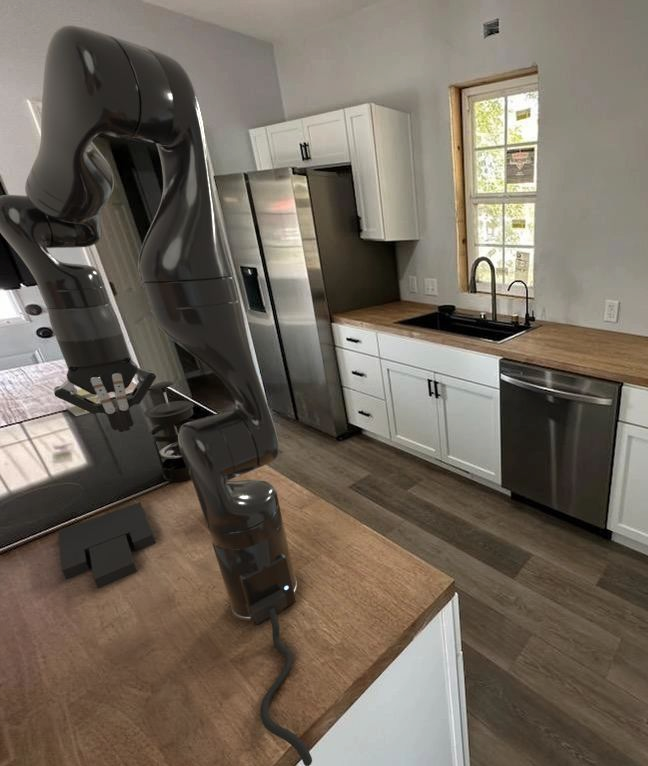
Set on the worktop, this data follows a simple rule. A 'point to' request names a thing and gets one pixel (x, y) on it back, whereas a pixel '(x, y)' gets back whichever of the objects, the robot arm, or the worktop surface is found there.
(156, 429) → the french press
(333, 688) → the worktop surface
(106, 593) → the worktop surface
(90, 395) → the stacked layers on plate
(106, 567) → the black pad
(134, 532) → the charcoal u-shaped block
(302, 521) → the worktop surface
